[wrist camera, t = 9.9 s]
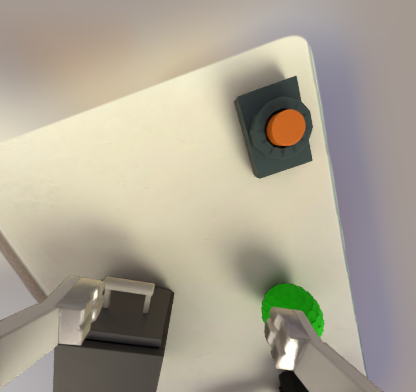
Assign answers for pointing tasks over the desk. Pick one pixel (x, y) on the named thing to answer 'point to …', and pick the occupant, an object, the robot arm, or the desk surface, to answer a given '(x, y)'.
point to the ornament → (293, 304)
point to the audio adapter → (291, 383)
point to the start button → (285, 128)
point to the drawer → (131, 314)
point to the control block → (257, 122)
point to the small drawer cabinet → (109, 365)
